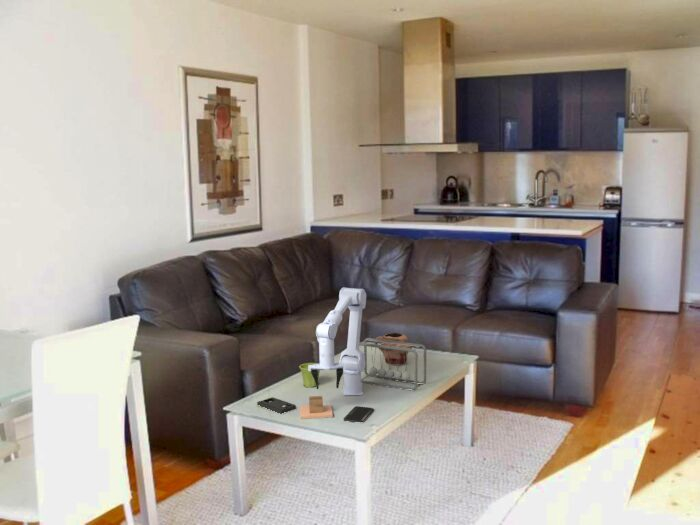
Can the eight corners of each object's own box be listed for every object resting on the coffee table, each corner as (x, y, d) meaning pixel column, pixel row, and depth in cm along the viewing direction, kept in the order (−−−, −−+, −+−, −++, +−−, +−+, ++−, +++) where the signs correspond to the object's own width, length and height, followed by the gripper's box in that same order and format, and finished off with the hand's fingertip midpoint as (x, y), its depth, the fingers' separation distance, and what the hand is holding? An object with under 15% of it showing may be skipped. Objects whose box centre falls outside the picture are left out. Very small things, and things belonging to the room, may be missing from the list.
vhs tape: (296, 409, 283) (296, 404, 283) (281, 415, 278) (280, 410, 278) (272, 401, 293) (272, 397, 293) (257, 406, 288) (257, 401, 287)
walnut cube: (309, 408, 281) (309, 396, 280) (322, 408, 281) (322, 395, 281) (309, 413, 276) (309, 400, 275) (322, 412, 276) (322, 400, 276)
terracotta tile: (300, 407, 284) (300, 405, 284) (330, 406, 285) (330, 404, 285) (300, 418, 272) (300, 416, 272) (332, 417, 273) (332, 415, 273)
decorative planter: (368, 363, 345) (368, 334, 343) (379, 357, 355) (379, 329, 353) (406, 368, 335) (406, 339, 333) (417, 362, 346) (417, 333, 344)
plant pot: (318, 389, 307) (318, 369, 306) (297, 388, 309) (296, 368, 307) (324, 382, 316) (323, 363, 315) (303, 381, 318) (302, 362, 317)
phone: (374, 408, 281) (362, 421, 267) (374, 410, 281) (362, 424, 267) (355, 405, 284) (342, 419, 269) (355, 408, 284) (342, 421, 270)
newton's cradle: (353, 381, 317) (353, 342, 314) (365, 375, 326) (364, 336, 323) (416, 391, 302) (416, 350, 300) (426, 384, 311) (426, 344, 309)
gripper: (308, 357, 275) (309, 392, 277) (346, 356, 276) (346, 390, 278) (307, 352, 282) (308, 386, 284) (344, 351, 283) (345, 384, 285)
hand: (327, 387), depth 281 cm, fingers open, 7 cm apart
